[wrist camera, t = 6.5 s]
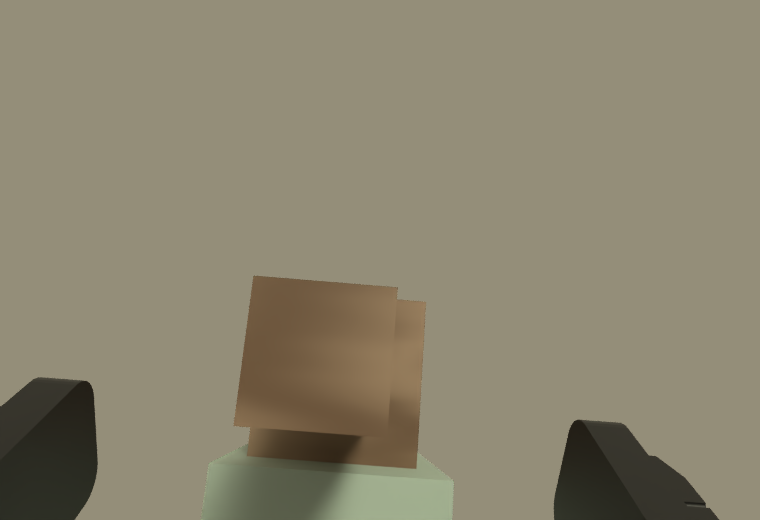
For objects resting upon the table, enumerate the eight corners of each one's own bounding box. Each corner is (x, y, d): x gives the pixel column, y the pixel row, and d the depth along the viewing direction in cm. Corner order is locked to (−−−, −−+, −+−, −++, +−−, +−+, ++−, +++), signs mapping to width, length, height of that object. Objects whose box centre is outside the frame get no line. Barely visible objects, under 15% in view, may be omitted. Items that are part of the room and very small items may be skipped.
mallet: (403, 452, 26) (411, 322, 27) (483, 554, 9) (493, 206, 11) (272, 442, 26) (287, 312, 27) (112, 527, 9) (174, 179, 10)
